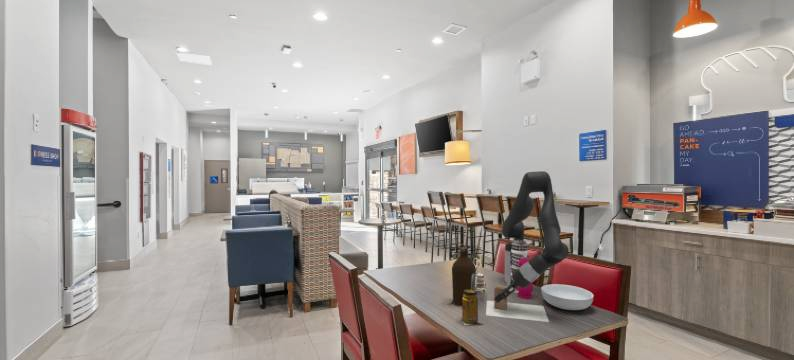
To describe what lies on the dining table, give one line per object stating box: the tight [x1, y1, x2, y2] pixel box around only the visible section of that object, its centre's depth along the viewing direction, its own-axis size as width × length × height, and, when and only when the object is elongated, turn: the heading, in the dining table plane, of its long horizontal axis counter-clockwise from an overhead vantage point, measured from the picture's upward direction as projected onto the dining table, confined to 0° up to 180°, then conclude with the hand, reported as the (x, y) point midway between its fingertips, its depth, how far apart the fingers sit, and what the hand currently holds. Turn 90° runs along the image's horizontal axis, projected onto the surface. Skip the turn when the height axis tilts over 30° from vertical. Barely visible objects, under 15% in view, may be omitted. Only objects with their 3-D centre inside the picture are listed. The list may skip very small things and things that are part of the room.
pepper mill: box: [517, 255, 534, 300], centre depth 171 cm, size 7×7×20 cm
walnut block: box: [493, 285, 508, 311], centre depth 156 cm, size 4×5×9 cm
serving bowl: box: [540, 283, 595, 311], centre depth 160 cm, size 21×21×7 cm
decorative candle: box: [510, 239, 530, 294], centre depth 181 cm, size 9×9×25 cm
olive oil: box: [451, 246, 477, 307], centre depth 162 cm, size 11×11×25 cm
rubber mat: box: [485, 300, 550, 323], centre depth 153 cm, size 18×24×1 cm
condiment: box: [460, 289, 483, 326], centre depth 142 cm, size 7×8×12 cm
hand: (497, 298), depth 156 cm, fingers open, 7 cm apart
